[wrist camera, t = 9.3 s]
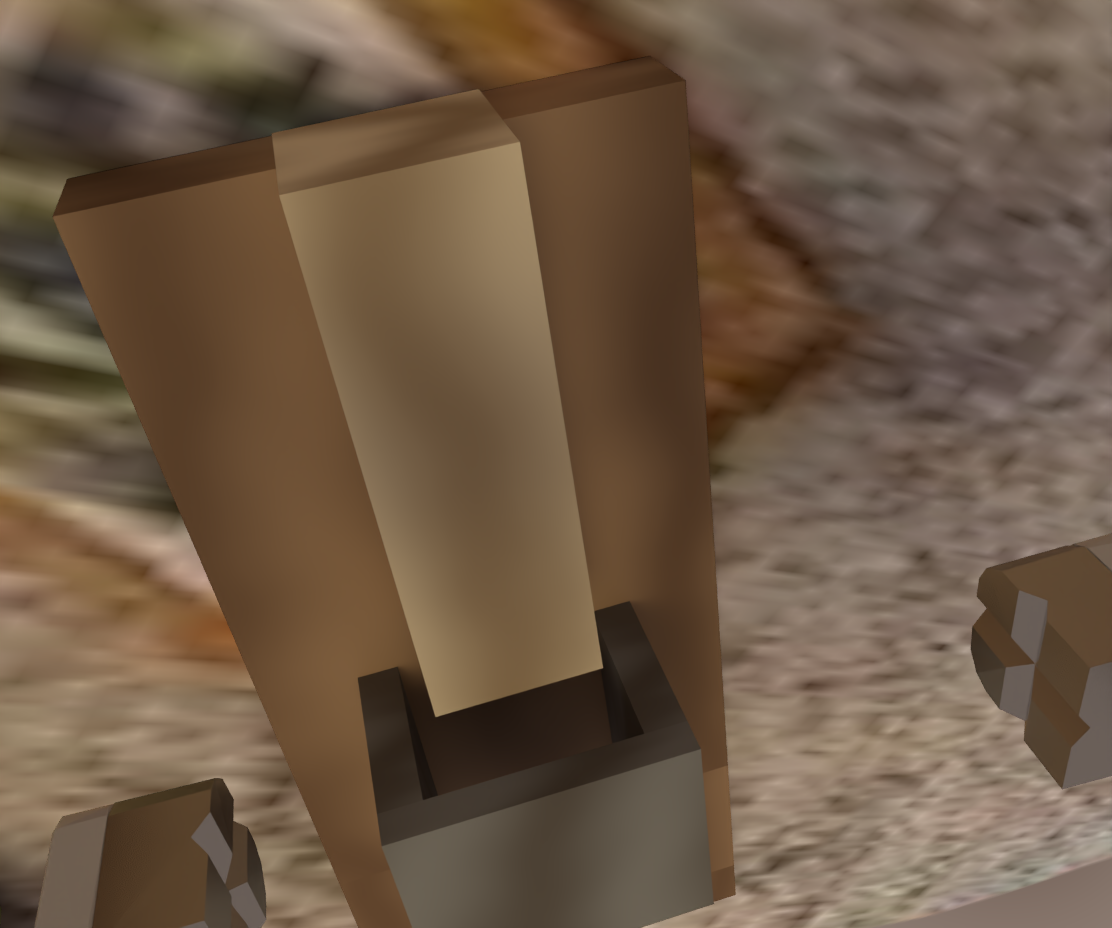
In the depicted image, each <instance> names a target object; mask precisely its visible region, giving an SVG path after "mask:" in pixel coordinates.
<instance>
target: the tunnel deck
mask: <svg viewBox="0 0 1112 928" xmlns="http://www.w3.org/2000/svg"><path fill="white" fill-rule="evenodd" d="M481 93H482V94H483V95H484V97H485V98H486V99H487V100H488V102H489V103H490V104H491V105H492V107H493V108H494V109H495V111H496V112H497V113H498V114H499V116H500V117H501V118H502V120H503V121H504V122H505V123H506V125H507V126H508V127H509V129H510V130H511V131H512V132H513V134H514V135H515V136H516V137H517V139H518V140H519V141H520V146H521V152H522V158H523V165H524V171H525V177H526V183H527V190H528V196H529V202H530V209H531V215H532V221H533V228H534V234H535V240H536V247H537V253H538V259H539V266H540V272H541V278H542V285H543V291H544V297H545V304H546V310H547V316H548V323H549V329H550V335H551V342H552V348H553V354H554V361H555V367H556V373H557V380H558V386H559V392H560V399H561V405H562V411H563V418H564V424H565V430H566V437H567V443H568V449H569V456H570V462H571V468H572V475H573V481H574V487H575V494H576V500H577V506H578V512H579V519H580V525H581V531H582V538H583V544H584V550H585V557H586V563H587V569H588V576H589V582H590V588H591V595H592V601H593V607H594V614H595V620H596V626H597V633H598V639H599V645H600V652H601V658H602V664H603V668H602V669H598V670H595V671H591V672H588V673H585V674H581V675H578V676H574V677H571V678H568V679H564V680H561V681H557V682H554V683H550V684H547V685H544V686H540V687H537V688H533V689H530V690H527V691H523V692H520V693H516V694H513V695H509V696H506V697H503V698H499V699H496V700H492V701H489V702H485V703H482V704H479V705H475V706H472V707H468V708H465V709H462V710H458V711H455V712H451V713H448V714H444V715H441V716H438V717H435V714H434V710H433V707H432V704H431V700H430V697H429V694H428V690H427V687H426V684H425V680H424V677H423V674H422V670H421V667H420V664H419V660H418V657H417V654H416V650H415V647H414V644H413V640H412V637H411V634H410V630H409V627H408V624H407V620H406V617H405V614H404V610H403V607H402V604H401V600H400V597H399V594H398V590H397V587H396V584H395V580H394V577H393V574H392V570H391V567H390V564H389V560H388V557H387V554H386V550H385V547H384V544H383V540H382V537H381V534H380V530H379V527H378V524H377V520H376V517H375V514H374V510H373V507H372V504H371V500H370V497H369V494H368V490H367V487H366V484H365V480H364V477H363V474H362V470H361V467H360V464H359V460H358V457H357V454H356V450H355V447H354V444H353V440H352V437H351V434H350V430H349V427H348V424H347V420H346V417H345V414H344V410H343V407H342V404H341V400H340V397H339V394H338V390H337V387H336V384H335V380H334V377H333V374H332V370H331V367H330V364H329V360H328V357H327V354H326V350H325V347H324V344H323V340H322V337H321V334H320V330H319V327H318V324H317V320H316V317H315V314H314V310H313V307H312V304H311V300H310V297H309V294H308V290H307V287H306V283H305V280H304V277H303V273H302V270H301V267H300V263H299V260H298V257H297V253H296V250H295V247H294V243H293V240H292V237H291V233H290V230H289V227H288V223H287V220H286V217H285V213H284V210H283V207H282V203H281V200H280V197H279V191H278V182H277V174H276V165H275V157H274V148H273V140H272V136H269V137H264V138H259V139H255V140H250V141H245V142H241V143H236V144H231V145H226V146H222V147H217V148H212V149H207V150H203V151H198V152H193V153H188V154H184V155H179V156H174V157H170V158H165V159H160V160H155V161H151V162H146V163H141V164H136V165H132V166H127V167H122V168H117V169H113V170H108V171H103V172H99V173H94V174H89V175H84V176H80V177H75V178H70V179H67V181H66V184H65V186H64V189H63V191H62V194H61V197H60V199H59V202H58V204H57V207H56V209H55V212H54V214H53V219H54V221H55V224H56V226H57V228H58V231H59V233H60V235H61V238H62V240H63V242H64V245H65V247H66V249H67V251H68V254H69V256H70V258H71V261H72V263H73V265H74V268H75V270H76V272H77V275H78V277H79V279H80V282H81V284H82V286H83V289H84V291H85V293H86V296H87V298H88V300H89V303H90V305H91V307H92V310H93V312H94V314H95V317H96V319H97V321H98V324H99V326H100V328H101V330H102V333H103V335H104V337H105V340H106V342H107V344H108V347H109V349H110V351H111V354H112V356H113V358H114V361H115V363H116V365H117V368H118V370H119V372H120V375H121V377H122V379H123V382H124V384H125V386H126V389H127V391H128V393H129V396H130V398H131V400H132V402H133V405H134V407H135V409H136V412H137V414H138V416H139V419H140V421H141V423H142V426H143V428H144V430H145V433H146V435H147V437H148V440H149V442H150V444H151V447H152V449H153V451H154V454H155V456H156V458H157V461H158V463H159V465H160V468H161V470H162V472H163V475H164V477H165V479H166V481H167V484H168V486H169V488H170V491H171V493H172V495H173V498H174V500H175V502H176V505H177V507H178V509H179V512H180V514H181V516H182V519H183V521H184V523H185V526H186V528H187V530H188V533H189V535H190V537H191V540H192V542H193V544H194V547H195V549H196V551H197V553H198V556H199V558H200V560H201V563H202V565H203V567H204V570H205V572H206V574H207V577H208V579H209V581H210V584H211V586H212V588H213V591H214V593H215V595H216V598H217V600H218V602H219V605H220V607H221V609H222V612H223V614H224V616H225V619H226V621H227V623H228V626H229V628H230V630H231V632H232V635H233V637H234V639H235V642H236V644H237V646H238V649H239V651H240V653H241V656H242V658H243V660H244V663H245V665H246V667H247V670H248V672H249V674H250V677H251V679H252V681H253V684H254V686H255V688H256V691H257V693H258V695H259V698H260V700H261V702H262V705H263V707H264V709H265V711H266V714H267V716H268V718H269V721H270V723H271V725H272V728H273V730H274V732H275V735H276V737H277V739H278V742H279V744H280V746H281V749H282V751H283V753H284V756H285V758H286V760H287V763H288V765H289V767H290V770H291V772H292V774H293V777H294V779H295V781H296V783H297V786H298V788H299V790H300V793H301V795H302V797H303V800H304V802H305V804H306V807H307V809H308V811H309V814H310V816H311V818H312V821H313V823H314V825H315V828H316V830H317V832H318V835H319V837H320V839H321V842H322V844H323V846H324V849H325V851H326V853H327V856H328V858H329V860H330V862H331V865H332V867H333V869H334V872H335V874H336V876H337V879H338V881H339V883H340V886H341V888H342V890H343V893H344V895H345V897H346V900H347V902H348V904H349V907H350V909H351V911H352V914H353V916H354V918H355V921H356V923H357V925H358V928H641V927H644V926H647V925H650V924H653V923H656V922H660V921H663V920H666V919H669V918H672V917H675V916H678V915H681V914H684V913H687V912H690V911H693V910H696V909H699V908H703V907H706V906H709V905H712V904H714V902H715V901H718V900H721V899H724V898H727V897H730V896H733V895H736V892H735V876H734V860H733V844H732V827H731V811H730V795H729V779H728V762H727V746H726V730H725V714H724V697H723V681H722V665H721V649H720V632H719V616H718V600H717V584H716V567H715V551H714V535H713V519H712V502H711V486H710V470H709V454H708V437H707V421H706V405H705V389H704V372H703V356H702V340H701V324H700V308H699V291H698V275H697V259H696V243H695V226H694V210H693V194H692V178H691V161H690V145H689V129H688V113H687V96H686V80H684V79H683V78H681V77H680V76H678V75H677V74H675V73H674V72H673V71H671V70H670V69H668V68H667V67H665V66H664V65H662V64H661V63H659V62H658V61H656V60H655V59H653V58H652V57H651V56H648V57H643V58H638V59H633V60H629V61H624V62H619V63H614V64H610V65H605V66H600V67H596V68H591V69H586V70H581V71H577V72H572V73H567V74H562V75H558V76H553V77H548V78H543V79H539V80H534V81H529V82H525V83H520V84H515V85H510V86H506V87H501V88H496V89H491V90H487V91H482V92H481Z"/></svg>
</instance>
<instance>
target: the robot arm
mask: <svg viewBox="0 0 1112 928" xmlns="http://www.w3.org/2000/svg"><path fill="white" fill-rule="evenodd" d="M977 597H978V598H979V599H980V601H981V602H982V603H983V604H984V605H985V607H986V608H987V609H986V610H985V611H984V613H983V614H982V615H981V616H980V618H979V619H978V620H977V621H976V623H975V624H974V625H973V627H972V639H971V652H972V656H973V660H974V664H975V668H976V672H977V674H978V676H979V678H980V680H981V682H982V684H983V686H984V688H985V690H986V692H987V693H988V694H989V696H990V697H991V698H992V700H993V701H994V702H995V704H996V705H997V706H998V708H999V709H1001V710H1003V711H1005V712H1007V713H1009V714H1012V715H1014V716H1016V717H1018V718H1020V719H1022V720H1024V721H1025V730H1024V741H1025V743H1026V744H1027V745H1028V746H1029V748H1030V749H1031V750H1032V751H1033V753H1034V754H1035V755H1036V757H1037V758H1038V759H1039V760H1040V762H1041V763H1042V764H1043V765H1044V767H1045V768H1046V769H1047V771H1048V772H1049V773H1050V774H1051V776H1052V777H1053V778H1054V779H1055V781H1056V782H1057V783H1058V785H1059V786H1060V787H1061V788H1062V789H1065V788H1068V787H1072V786H1076V785H1080V784H1083V783H1087V782H1091V781H1094V780H1098V779H1102V778H1106V777H1109V776H1112V533H1111V534H1108V535H1104V536H1100V537H1097V538H1093V539H1090V540H1086V541H1082V542H1079V543H1075V544H1073V545H1071V546H1063V547H1059V548H1056V549H1052V550H1049V551H1045V552H1042V553H1038V554H1035V555H1031V556H1028V557H1024V558H1021V559H1017V560H1014V561H1010V562H1007V563H1003V564H999V565H996V566H992V567H989V568H986V570H985V571H984V572H983V574H982V575H981V577H980V578H979V584H978V590H977ZM233 803H234V799H233V797H232V795H231V794H230V792H229V790H228V788H227V786H226V785H225V783H224V781H223V779H220V778H214V779H210V780H206V781H202V782H198V783H194V784H190V785H185V786H181V787H177V788H173V789H169V790H165V791H161V792H157V793H153V794H149V795H145V796H141V797H136V798H132V799H128V800H124V801H120V802H116V803H114V804H111V805H107V806H103V807H99V808H95V809H91V810H87V811H83V812H79V813H75V814H71V815H67V816H63V817H62V818H61V820H60V821H59V823H58V825H57V827H56V828H55V830H54V832H53V833H52V839H51V844H50V849H49V854H48V859H47V864H46V869H45V875H44V880H43V885H42V890H41V895H40V900H39V905H38V911H37V916H36V921H35V926H34V928H261V927H262V925H263V924H264V922H265V920H266V892H265V885H264V879H263V872H262V866H261V861H260V858H259V855H258V852H257V848H256V845H255V842H254V840H253V838H252V836H251V834H250V832H249V829H248V827H246V826H244V825H242V824H239V823H237V822H235V821H233Z"/></svg>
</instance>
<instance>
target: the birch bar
mask: <svg viewBox="0 0 1112 928" xmlns="http://www.w3.org/2000/svg"><path fill="white" fill-rule="evenodd" d="M272 140H273V148H274V157H275V165H276V174H277V182H278V191H279V197H280V200H281V203H282V207H283V210H284V213H285V217H286V220H287V223H288V227H289V230H290V233H291V237H292V240H293V243H294V247H295V250H296V253H297V257H298V260H299V263H300V267H301V270H302V273H303V277H304V280H305V283H306V287H307V290H308V294H309V297H310V300H311V304H312V307H313V310H314V314H315V317H316V320H317V324H318V327H319V330H320V334H321V337H322V340H323V344H324V347H325V350H326V354H327V357H328V360H329V364H330V367H331V370H332V374H333V377H334V380H335V384H336V387H337V390H338V394H339V397H340V400H341V404H342V407H343V410H344V414H345V417H346V420H347V424H348V427H349V430H350V434H351V437H352V440H353V444H354V447H355V450H356V454H357V457H358V460H359V464H360V467H361V470H362V474H363V477H364V480H365V484H366V487H367V490H368V494H369V497H370V500H371V504H372V507H373V510H374V514H375V517H376V520H377V524H378V527H379V530H380V534H381V537H382V540H383V544H384V547H385V550H386V554H387V557H388V560H389V564H390V567H391V570H392V574H393V577H394V580H395V584H396V587H397V590H398V594H399V597H400V600H401V604H402V607H403V610H404V614H405V617H406V620H407V624H408V627H409V630H410V634H411V637H412V640H413V644H414V647H415V650H416V654H417V657H418V660H419V664H420V667H421V670H422V674H423V677H424V680H425V684H426V687H427V690H428V694H429V697H430V700H431V704H432V707H433V710H434V714H435V717H438V716H441V715H444V714H448V713H451V712H455V711H458V710H462V709H465V708H468V707H472V706H475V705H479V704H482V703H485V702H489V701H492V700H496V699H499V698H503V697H506V696H509V695H513V694H516V693H520V692H523V691H527V690H530V689H533V688H537V687H540V686H544V685H547V684H550V683H554V682H557V681H561V680H564V679H568V678H571V677H574V676H578V675H581V674H585V673H588V672H591V671H595V670H598V669H602V668H603V664H602V658H601V652H600V645H599V639H598V633H597V626H596V620H595V614H594V607H593V601H592V595H591V588H590V582H589V576H588V569H587V563H586V557H585V550H584V544H583V538H582V531H581V525H580V519H579V512H578V506H577V500H576V494H575V487H574V481H573V475H572V468H571V462H570V456H569V449H568V443H567V437H566V430H565V424H564V418H563V411H562V405H561V399H560V392H559V386H558V380H557V373H556V367H555V361H554V354H553V348H552V342H551V335H550V329H549V323H548V316H547V310H546V304H545V297H544V291H543V285H542V278H541V272H540V266H539V259H538V253H537V247H536V240H535V234H534V228H533V221H532V215H531V209H530V202H529V196H528V190H527V183H526V177H525V171H524V165H523V158H522V152H521V146H520V141H519V140H518V139H517V137H516V136H515V135H514V134H513V132H512V131H511V130H510V129H509V127H508V126H507V125H506V123H505V122H504V121H503V120H502V118H501V117H500V116H499V114H498V113H497V112H496V111H495V109H494V108H493V107H492V105H491V104H490V103H489V102H488V100H487V99H486V98H485V97H484V95H483V94H482V93H481V91H480V90H479V89H476V90H472V91H467V92H462V93H458V94H453V95H448V96H444V97H439V98H434V99H430V100H425V101H420V102H416V103H411V104H406V105H402V106H397V107H392V108H388V109H383V110H378V111H374V112H369V113H364V114H359V115H355V116H350V117H345V118H341V119H336V120H331V121H327V122H322V123H317V124H313V125H308V126H303V127H299V128H294V129H289V130H285V131H280V132H275V133H272Z"/></svg>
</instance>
